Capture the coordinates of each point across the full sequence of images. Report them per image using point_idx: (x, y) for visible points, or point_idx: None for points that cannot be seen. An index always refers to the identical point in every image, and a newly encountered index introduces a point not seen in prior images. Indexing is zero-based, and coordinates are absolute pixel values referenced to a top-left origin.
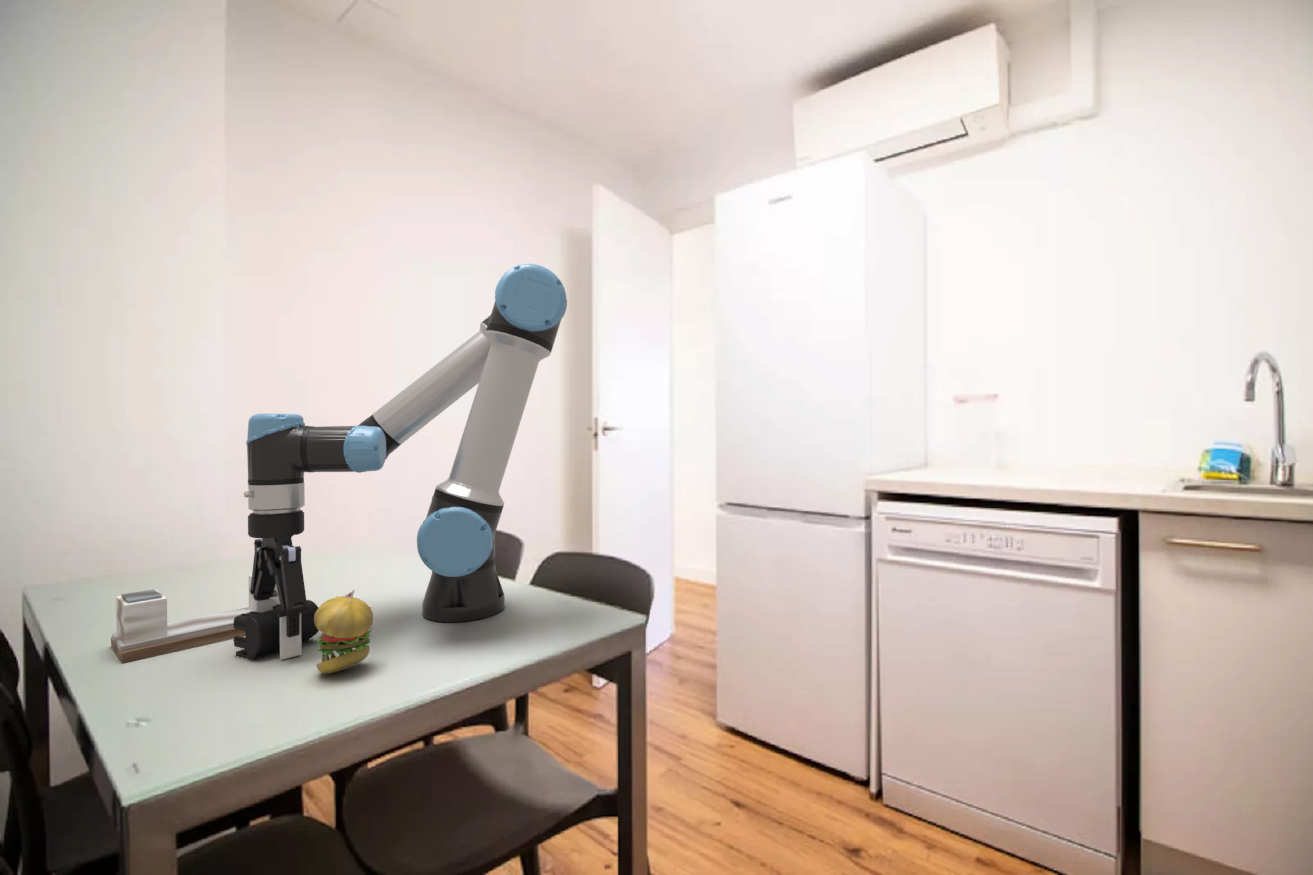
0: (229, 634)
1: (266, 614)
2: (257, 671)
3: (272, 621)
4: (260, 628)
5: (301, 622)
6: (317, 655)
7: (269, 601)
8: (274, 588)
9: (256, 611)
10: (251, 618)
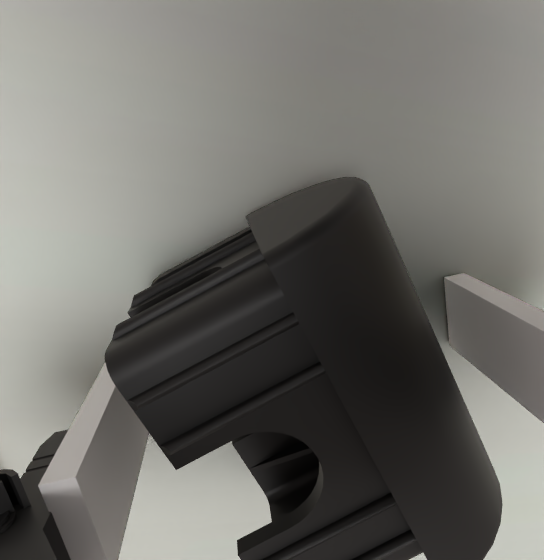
0: None
1: (450, 510)
2: (507, 408)
3: (478, 458)
4: (500, 494)
5: (418, 297)
6: (501, 216)
7: (89, 501)
8: (54, 557)
9: (124, 523)
10: None
